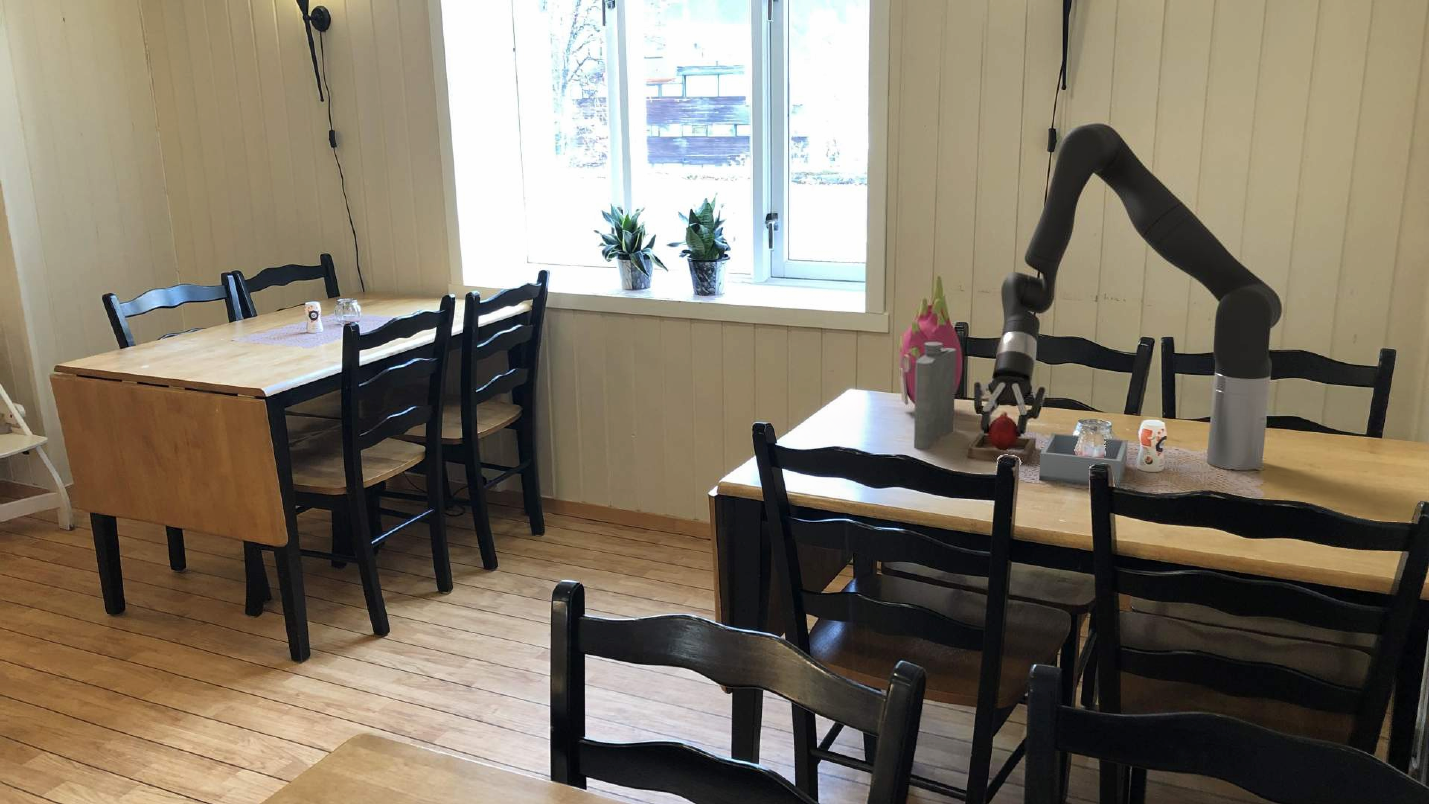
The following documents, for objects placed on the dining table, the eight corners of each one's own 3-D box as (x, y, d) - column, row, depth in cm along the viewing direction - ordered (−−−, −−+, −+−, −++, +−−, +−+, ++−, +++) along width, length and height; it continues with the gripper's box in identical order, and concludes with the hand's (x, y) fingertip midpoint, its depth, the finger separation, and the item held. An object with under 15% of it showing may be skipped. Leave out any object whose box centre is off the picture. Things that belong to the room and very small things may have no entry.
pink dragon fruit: (886, 403, 253) (888, 273, 246) (943, 399, 255) (946, 270, 248) (913, 423, 236) (915, 284, 229) (973, 419, 238) (977, 281, 231)
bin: (1125, 465, 205) (1127, 440, 204) (1118, 488, 193) (1120, 461, 192) (1050, 458, 210) (1051, 433, 209) (1039, 479, 198) (1040, 453, 197)
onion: (1019, 456, 211) (1020, 416, 209) (988, 455, 212) (989, 415, 210) (1017, 447, 217) (1018, 408, 215) (987, 446, 218) (988, 407, 216)
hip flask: (926, 450, 217) (928, 351, 212) (907, 447, 220) (909, 349, 214) (955, 430, 230) (958, 336, 225) (937, 428, 232) (939, 335, 227)
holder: (1035, 448, 217) (1035, 438, 216) (1025, 464, 207) (1026, 454, 207) (979, 442, 221) (979, 433, 221) (967, 458, 212) (967, 448, 211)
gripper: (976, 347, 219) (961, 420, 212) (1051, 351, 213) (1038, 427, 206) (981, 367, 225) (967, 439, 218) (1054, 372, 219) (1041, 446, 212)
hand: (1001, 432), depth 212 cm, fingers closed on onion, 5 cm apart
